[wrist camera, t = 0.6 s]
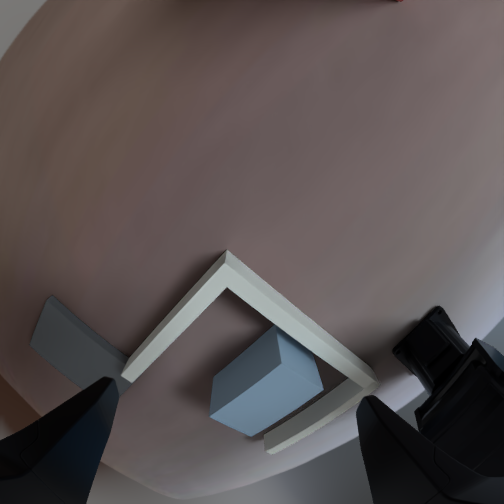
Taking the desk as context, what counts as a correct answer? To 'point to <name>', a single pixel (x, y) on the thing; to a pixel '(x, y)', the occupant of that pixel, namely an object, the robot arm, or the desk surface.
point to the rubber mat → (76, 348)
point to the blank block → (264, 383)
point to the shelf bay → (285, 317)
